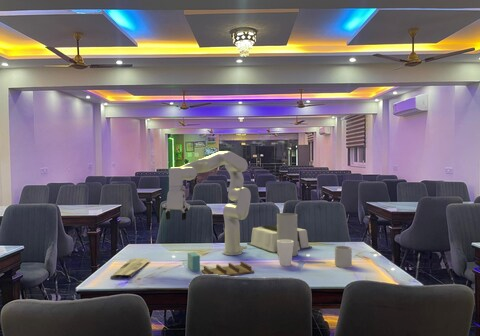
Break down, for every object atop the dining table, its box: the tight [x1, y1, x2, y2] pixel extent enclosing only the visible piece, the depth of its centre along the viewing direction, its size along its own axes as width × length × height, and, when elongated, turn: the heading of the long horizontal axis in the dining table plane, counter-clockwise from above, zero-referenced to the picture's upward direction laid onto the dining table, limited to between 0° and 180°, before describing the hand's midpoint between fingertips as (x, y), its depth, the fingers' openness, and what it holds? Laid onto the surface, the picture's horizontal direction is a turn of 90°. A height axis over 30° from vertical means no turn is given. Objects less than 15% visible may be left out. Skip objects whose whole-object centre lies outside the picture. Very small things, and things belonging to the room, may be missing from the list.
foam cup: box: [277, 240, 294, 267], centre depth 209 cm, size 10×9×13 cm
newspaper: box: [110, 257, 150, 280], centre depth 201 cm, size 35×12×4 cm, turn 1°
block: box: [187, 251, 201, 272], centre depth 201 cm, size 4×9×8 cm, turn 24°
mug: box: [334, 245, 353, 269], centre depth 206 cm, size 11×10×10 cm
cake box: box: [246, 224, 313, 254], centre depth 258 cm, size 35×33×12 cm
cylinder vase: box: [276, 212, 299, 258], centre depth 231 cm, size 12×12×25 cm
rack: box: [200, 260, 255, 277], centre depth 194 cm, size 24×14×3 cm, turn 114°
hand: (176, 219), depth 210 cm, fingers open, 9 cm apart
